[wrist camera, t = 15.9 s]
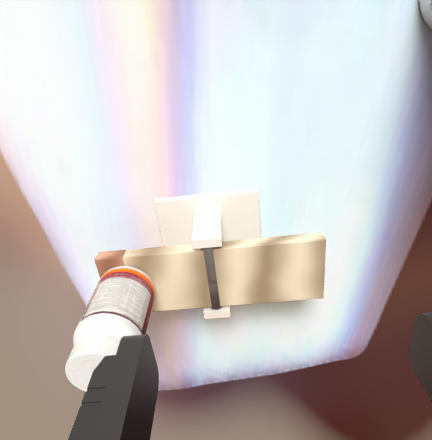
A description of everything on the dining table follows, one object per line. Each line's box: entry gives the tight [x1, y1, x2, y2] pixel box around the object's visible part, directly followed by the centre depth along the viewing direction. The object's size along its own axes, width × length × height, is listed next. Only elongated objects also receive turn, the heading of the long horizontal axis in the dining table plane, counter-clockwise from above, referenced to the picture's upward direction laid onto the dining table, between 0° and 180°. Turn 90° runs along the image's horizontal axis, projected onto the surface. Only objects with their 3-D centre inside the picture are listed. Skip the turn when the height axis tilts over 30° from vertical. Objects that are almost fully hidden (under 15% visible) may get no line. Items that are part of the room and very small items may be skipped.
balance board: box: [95, 233, 326, 312], centre depth 39 cm, size 24×8×2 cm, turn 96°
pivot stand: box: [154, 189, 261, 319], centre depth 41 cm, size 12×14×8 cm
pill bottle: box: [65, 266, 155, 392], centre depth 34 cm, size 6×6×11 cm
